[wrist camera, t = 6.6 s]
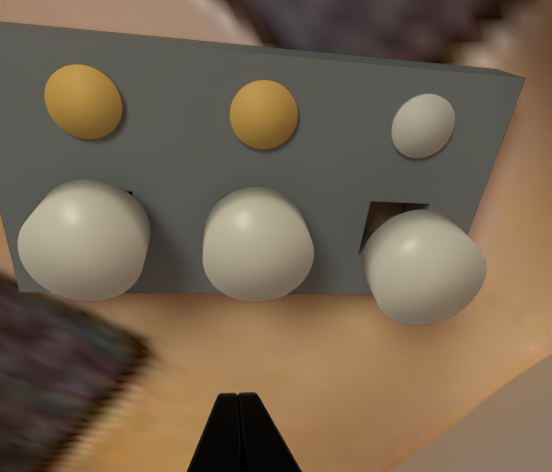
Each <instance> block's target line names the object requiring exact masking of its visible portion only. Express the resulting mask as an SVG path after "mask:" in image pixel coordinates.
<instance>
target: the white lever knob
mask: <svg viewBox="0 0 552 472" xmlns="http://www.w3.org/2000/svg"><path fill="white" fill-rule="evenodd" d="M361 268H362V273H363V276H364V278H365V280H366V282H367V284H368V286H369V288H370V290H371V292H372V294H373V296H374V298H375V300H376V302H377V304H378V306H379V308H380V309H381V311H382V312H383V313H384V314H385V315H386V316H387V317H388V318H390V319H391V320H393V321H395V322H397V323H400V324H403V325H409V326H423V325H429V324H433V323H437V322H440V321H443V320H445V319H447V318H449V317H451V316H453V315H455V314H456V313H458V312H459V311H461V310H462V309H463V308H464V307H466V306H467V305H468V304H469V303H470V302H471V301H472V300H473V298H474V297H475V296H476V295H477V293H478V292H479V290H480V288H481V286H482V284H483V282H484V279H485V275H486V260H485V257H484V254H483V252H482V251H481V249H480V248H479V247H478V246H477V245H476V244H475V243H474V242H473V240H472V239H471V238H470V237H469V236H468V235H467V234H466V233H465V232H464V231H463V230H462V229H461V228H460V227H459V226H458V225H457V224H456V223H455V222H454V221H453V220H452V219H450V218H449V217H448V216H446V215H445V214H443V213H440V212H438V211H433V210H426V209H423V210H412V211H408V212H404V213H402V214H399V215H393V216H391V217H388V218H387V219H385V220H384V221H383V222H382V223H381V224H380V225H379V226H378V228H377V230H376V231H375V232H374V233H373V234H372V235H371V237H370V238H369V240H368V241H367V243H366V245H365V247H364V250H363V253H362V258H361Z"/></svg>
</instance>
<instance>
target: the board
mask: <svg viewBox="0 0 552 472" xmlns="http://www.w3.org/2000/svg"><path fill="white" fill-rule="evenodd" d="M525 79H526V78H523V77H519V76H516V75H513V74H510V73H507V72H503V71H500V70H497V69H490V68H479V67H469V66H459V65H448V64H438V63H427V62H417V61H406V60H396V59H385V58H375V57H364V56H354V55H344V54H333V53H323V52H312V51H302V50H291V49H281V48H270V47H260V46H249V45H239V44H229V43H218V42H208V41H197V40H187V39H176V38H166V37H155V36H145V35H134V34H124V33H114V32H103V31H93V30H82V29H72V28H61V27H51V26H40V25H30V24H19V23H9V22H0V214H1V218H2V222H3V226H4V230H5V234H6V238H7V242H8V246H9V250H10V254H11V258H12V262H13V266H14V270H15V274H16V278H17V282H18V286H19V290H20V292H50V291H49V290H47V289H45V288H44V287H42V286H41V285H40V284H38V283H37V282H36V281H35V280H34V279H33V278H32V277H31V276H30V275H29V273H28V272H27V271H26V269H25V268H24V266H23V264H22V262H21V260H20V257H19V253H18V236H19V233H20V230H21V228H22V226H23V224H24V223H25V221H26V220H27V219H28V218H29V216H30V215H31V214H32V213H33V211H34V210H35V209H36V208H37V206H38V205H39V204H40V203H41V201H42V200H43V199H44V198H45V197H46V195H47V194H48V193H49V192H50V191H52V190H53V189H54V188H56V187H57V186H59V185H61V184H64V183H66V182H69V181H73V180H80V179H92V180H99V181H104V182H107V183H110V184H113V185H115V186H117V187H120V188H121V189H123V190H125V191H132V195H133V197H134V198H135V199H136V200H137V201H138V202H139V204H140V205H141V206H142V207H143V209H144V211H145V212H146V214H147V217H148V219H149V223H150V228H151V237H150V242H149V246H148V250H147V254H146V258H145V261H144V265H143V269H142V272H141V274H140V276H139V278H138V280H137V281H136V282H135V284H134V285H133V286H132V287H131V288H130V289H128V290H127V291H125V292H124V293H222V292H221V291H219V290H218V289H217V288H216V287H215V286H214V285H213V284H212V283H211V282H210V280H209V279H208V277H207V275H206V273H205V270H204V266H203V241H204V227H205V222H206V219H207V217H208V214H209V213H210V211H211V209H212V208H213V207H214V206H215V204H216V203H217V202H219V201H220V200H221V199H222V198H223V195H228V194H230V193H232V192H234V191H237V190H240V189H244V188H249V187H265V188H270V189H274V190H276V191H279V192H281V193H283V194H285V195H286V196H288V197H289V198H290V199H291V200H293V201H294V202H295V204H296V205H297V206H298V207H299V209H300V211H301V213H302V215H303V218H304V220H305V223H306V226H307V229H308V231H309V234H310V237H311V240H312V243H313V247H314V258H313V263H312V267H311V269H310V271H309V273H308V275H307V277H306V278H305V279H304V281H303V282H302V283H301V284H300V285H299V286H298V287H297V288H295V289H294V290H293V291H291V292H290V293H288V294H372V292H371V290H370V288H369V286H368V284H367V282H366V280H365V278H364V276H363V273H362V268H361V258H362V253H363V250H364V247H365V245H366V243H367V241H368V240H369V238H370V237H371V235H372V234H373V233H365V232H364V228H365V224H366V219H367V215H368V211H369V207H370V202H371V201H374V202H398V203H406V206H405V209H404V212H408V211H412V210H423V209H426V210H433V211H438V212H440V213H443V214H445V215H446V216H448V217H449V218H450V219H452V220H453V221H454V222H455V223H456V224H457V225H458V226H459V227H460V228H461V229H462V230H463V231H464V232H465V233H466V234H468V231H469V229H470V226H471V223H472V221H473V218H474V215H475V213H476V210H477V207H478V205H479V202H480V199H481V197H482V194H483V191H484V189H485V186H486V183H487V181H488V178H489V175H490V173H491V170H492V167H493V165H494V162H495V159H496V157H497V154H498V151H499V149H500V146H501V143H502V141H503V138H504V135H505V133H506V130H507V127H508V125H509V122H510V119H511V117H512V114H513V111H514V109H515V106H516V103H517V101H518V98H519V95H520V93H521V90H522V87H523V85H524V82H525Z"/></svg>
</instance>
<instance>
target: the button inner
mask: <svg viewBox="0 0 552 472" xmlns="http://www.w3.org/2000/svg"><path fill="white" fill-rule="evenodd" d="M150 237H151V228H150V223H149V219H148V217H147V214H146V212H145V211H144V209H143V207H142V206H141V205H140V204H139V202H138V201H137V200H136V199H135V198H134V197H133V196H132V195H130V194H129V193H128V192H126V191H125V190H123V189H121V188H120V187H117V186H115V185H113V184H110V183H107V182H104V181H99V180H92V179H80V180H73V181H69V182H66V183H64V184H61V185H59V186H57V187H56V188H54V189H53V190H52V191H50V192H49V193H48V194H47V195H46V197H45V198H44V199H43V200H42V201H41V203H40V204H39V205H38V206H37V208H36V209H35V210H34V211H33V213H32V214H31V215H30V216H29V218H28V219H27V220H26V221H25V223H24V224H23V226H22V228H21V230H20V233H19V236H18V253H19V257H20V260H21V262H22V264H23V266H24V268H25V269H26V271H27V272H28V273H29V275H30V276H31V277H32V278H33V279H34V280H35V281H36V282H37V283H38V284H40V285H41V286H42V287H44V288H45V289H47V290H49V291H50V292H52V293H54V294H57V295H59V296H62V297H65V298H68V299H72V300H77V301H88V302H91V301H102V300H107V299H111V298H113V297H116V296H118V295H120V294H122V293H124V292H125V291H127V290H128V289H130V288H131V287H132V286H133V285H134V284H135V282H136V281H137V280H138V278H139V276H140V274H141V272H142V269H143V265H144V261H145V258H146V254H147V250H148V246H149V242H150Z"/></svg>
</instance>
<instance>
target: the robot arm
mask: <svg viewBox="0 0 552 472" xmlns="http://www.w3.org/2000/svg"><path fill="white" fill-rule="evenodd" d="M187 472H302V471H301V469H300V468H299V466H298V464H297V462H296V461H295V459H294V457H293V455H292V454H291V452H290V450H289V448H288V447H287V445H286V443H285V441H284V440H283V438H282V436H281V434H280V433H279V431H278V429H277V427H276V426H275V424H274V422H273V420H272V419H271V417H270V415H269V413H268V412H267V410H266V408H265V406H264V405H263V403H262V401H261V399H260V398H259V396H258V395H257V394H256V393H254V392H246V393H239V394H238V396H237V394H236V393H220V394H219V395H218V396H217V399H216V401H215V403H214V406H213V408H212V411H211V413H210V416H209V418H208V421H207V423H206V426H205V428H204V431H203V433H202V436H201V438H200V440H199V443H198V445H197V448H196V450H195V453H194V455H193V458H192V460H191V463H190V465H189V468H188V470H187Z"/></svg>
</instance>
